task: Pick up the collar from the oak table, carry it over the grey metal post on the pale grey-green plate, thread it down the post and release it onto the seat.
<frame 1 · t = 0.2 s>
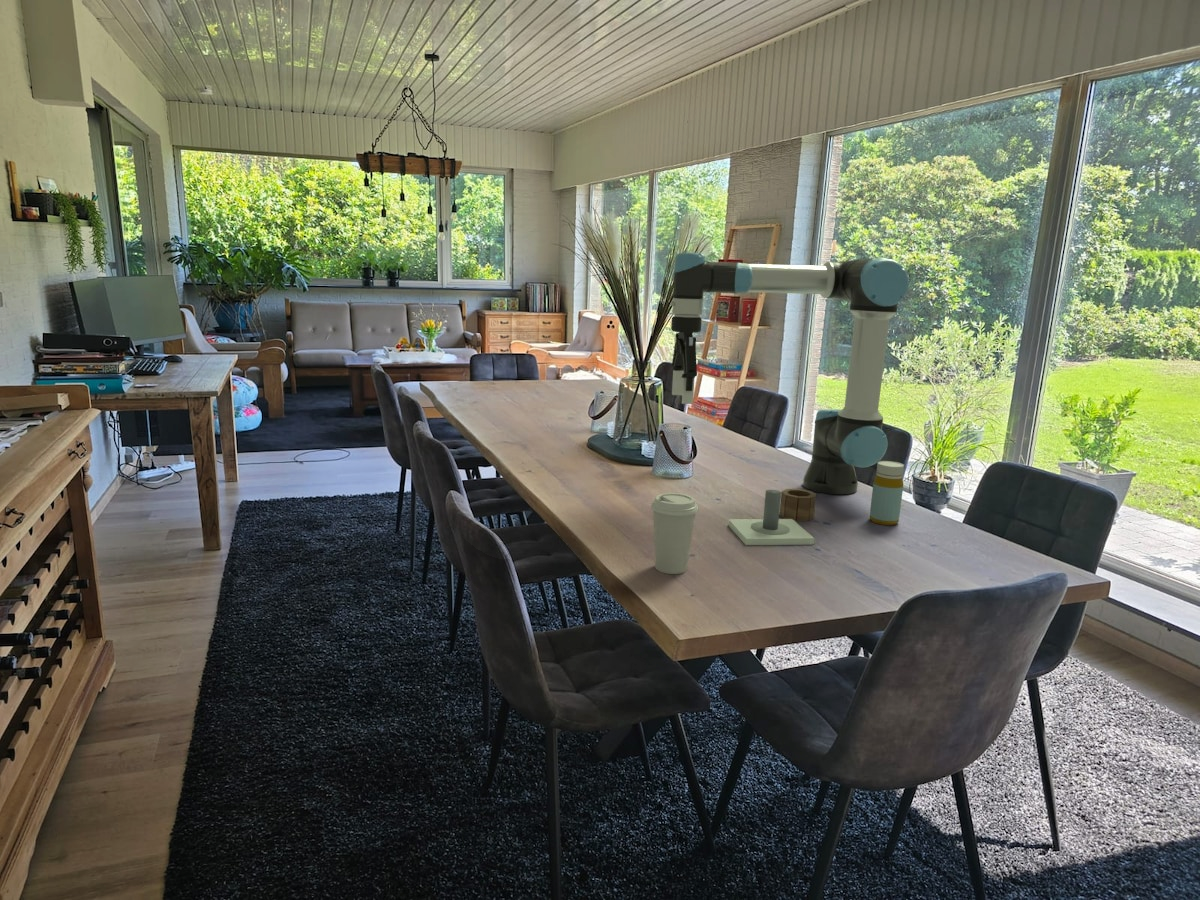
hand: (682, 399, 199), 28 cm above the table, fingers open, 13 cm apart
collar: (796, 515, 196), on the table
post stand: (769, 534, 181), on the table
coffee cup: (671, 569, 159), on the table
bottle: (883, 522, 194), on the table
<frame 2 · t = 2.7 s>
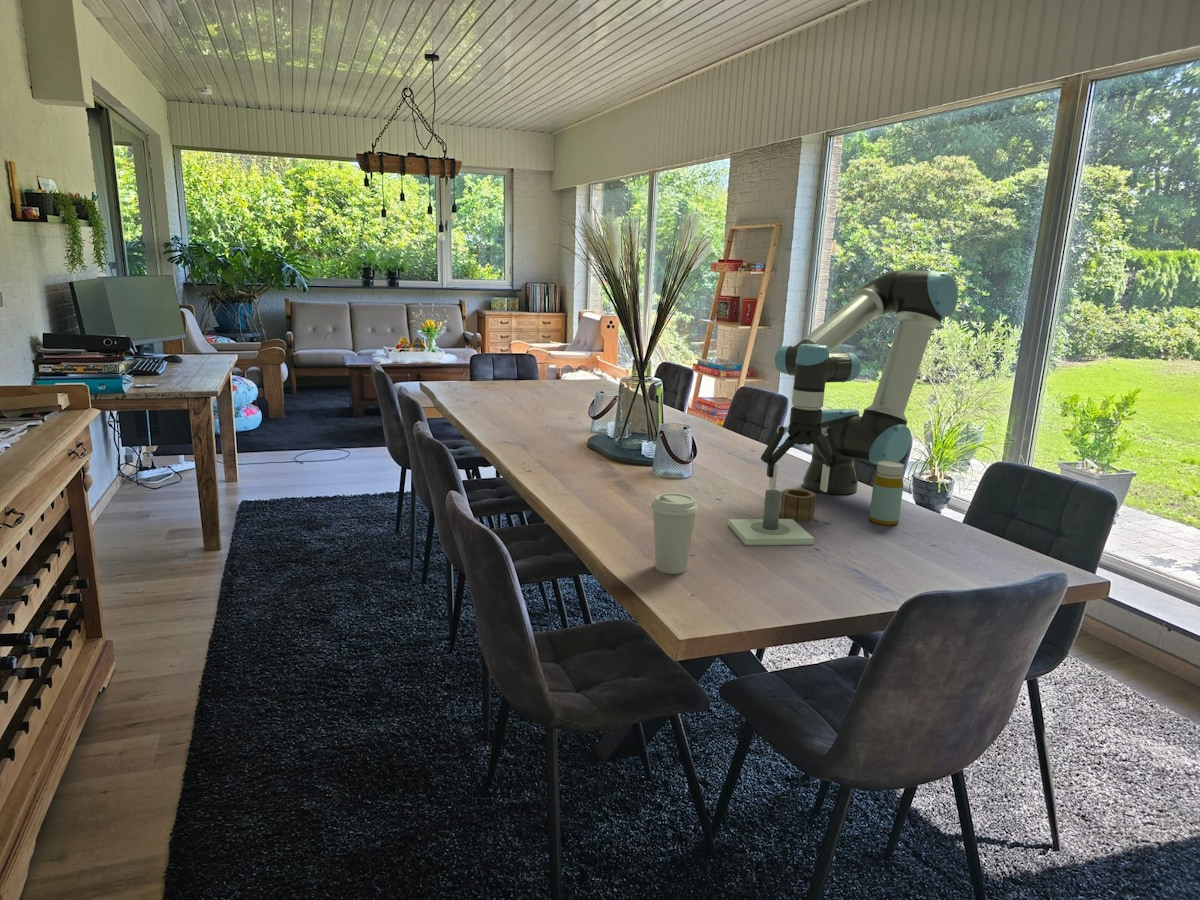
hand: (797, 490, 195), 7 cm above the table, fingers open, 13 cm apart
nothing on the table moved.
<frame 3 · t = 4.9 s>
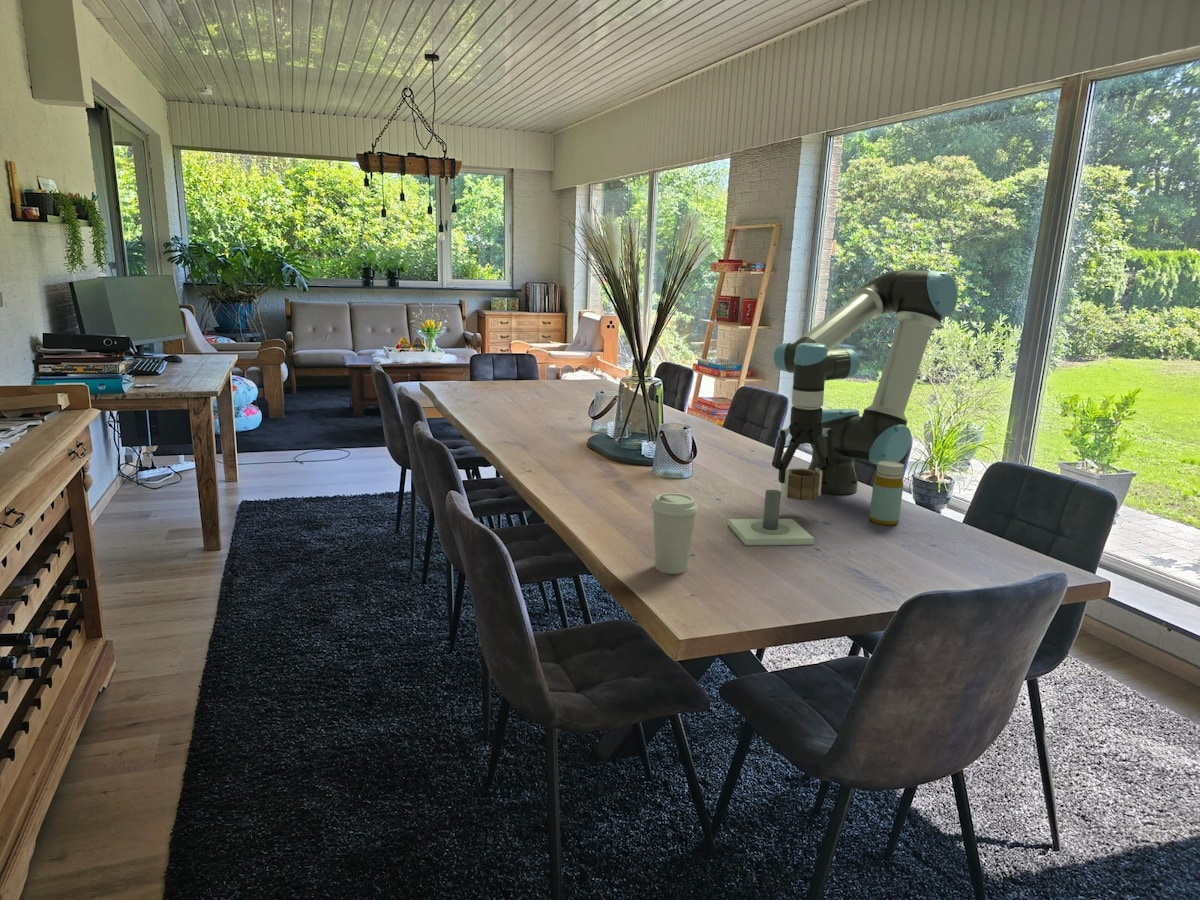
hand: (800, 494, 196), 6 cm above the table, fingers closed on collar, 8 cm apart
collar: (800, 495, 196), point 5 cm above the table, touching gripper
everything else where it was.
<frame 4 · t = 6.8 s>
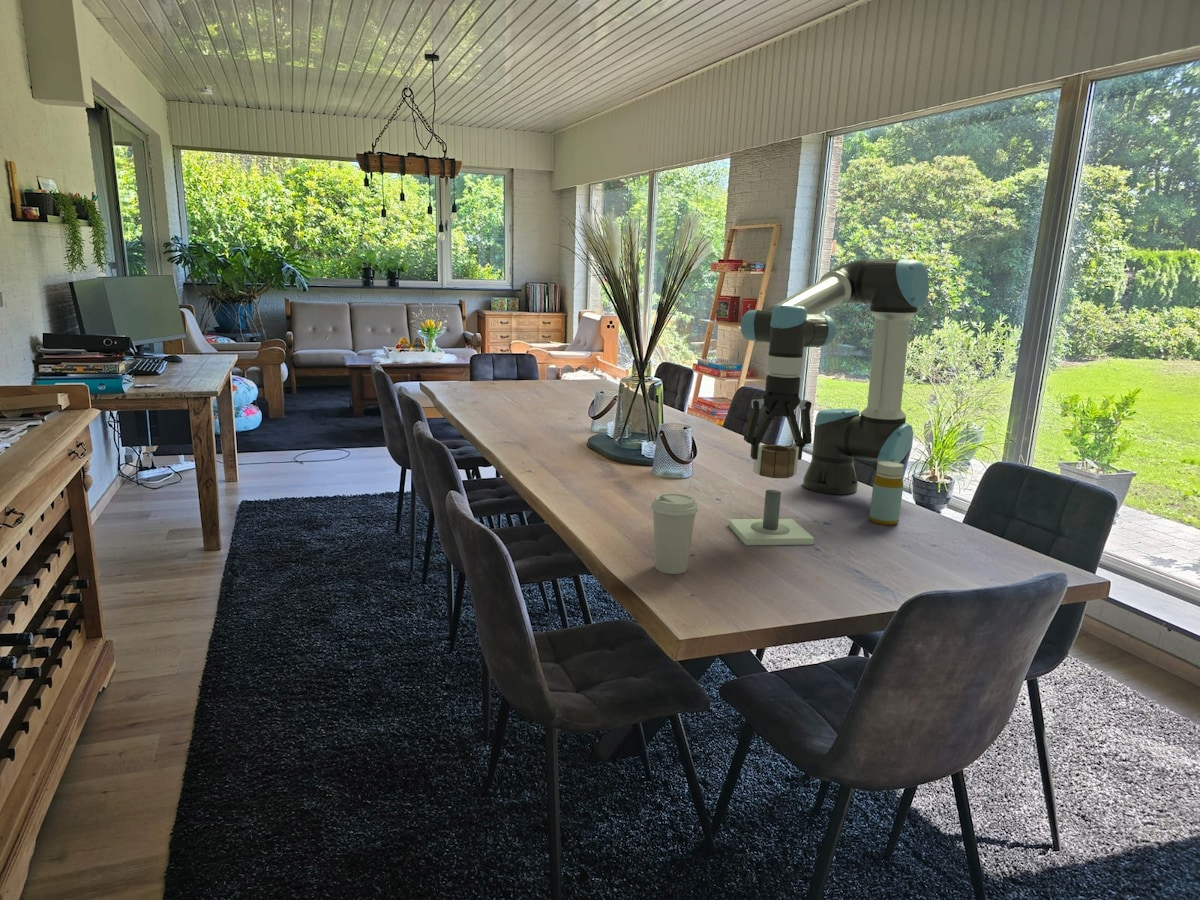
hand: (774, 472, 178), 15 cm above the table, fingers closed on collar, 8 cm apart
collar: (774, 473, 178), point 15 cm above the table, touching gripper
everything else where it was.
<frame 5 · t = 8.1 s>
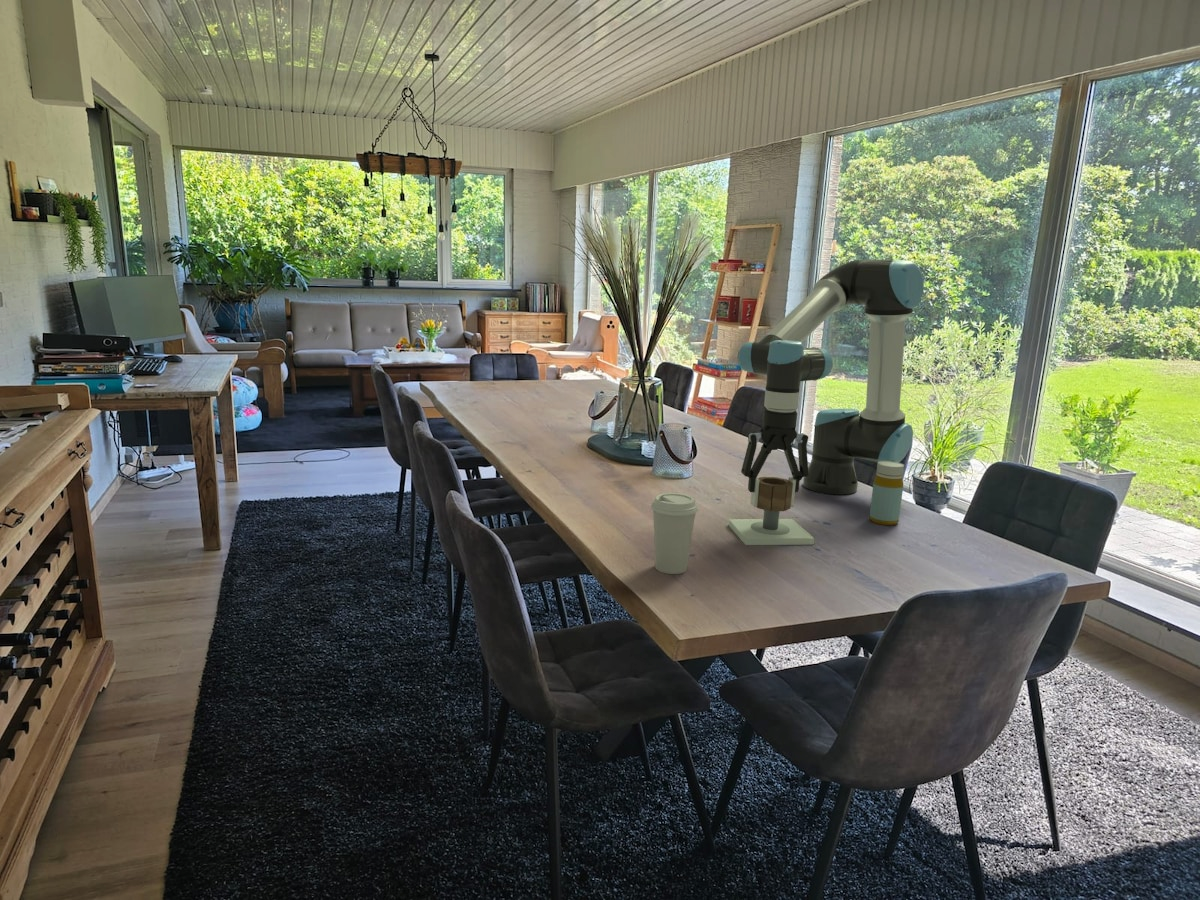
hand: (771, 505, 180), 7 cm above the table, fingers closed on collar, 8 cm apart
collar: (771, 506, 180), point 7 cm above the table, touching gripper
everything else where it was.
when the fingers open (4 cm above the table, at t = 9.1 s): collar drops 2 cm, resting on post stand.
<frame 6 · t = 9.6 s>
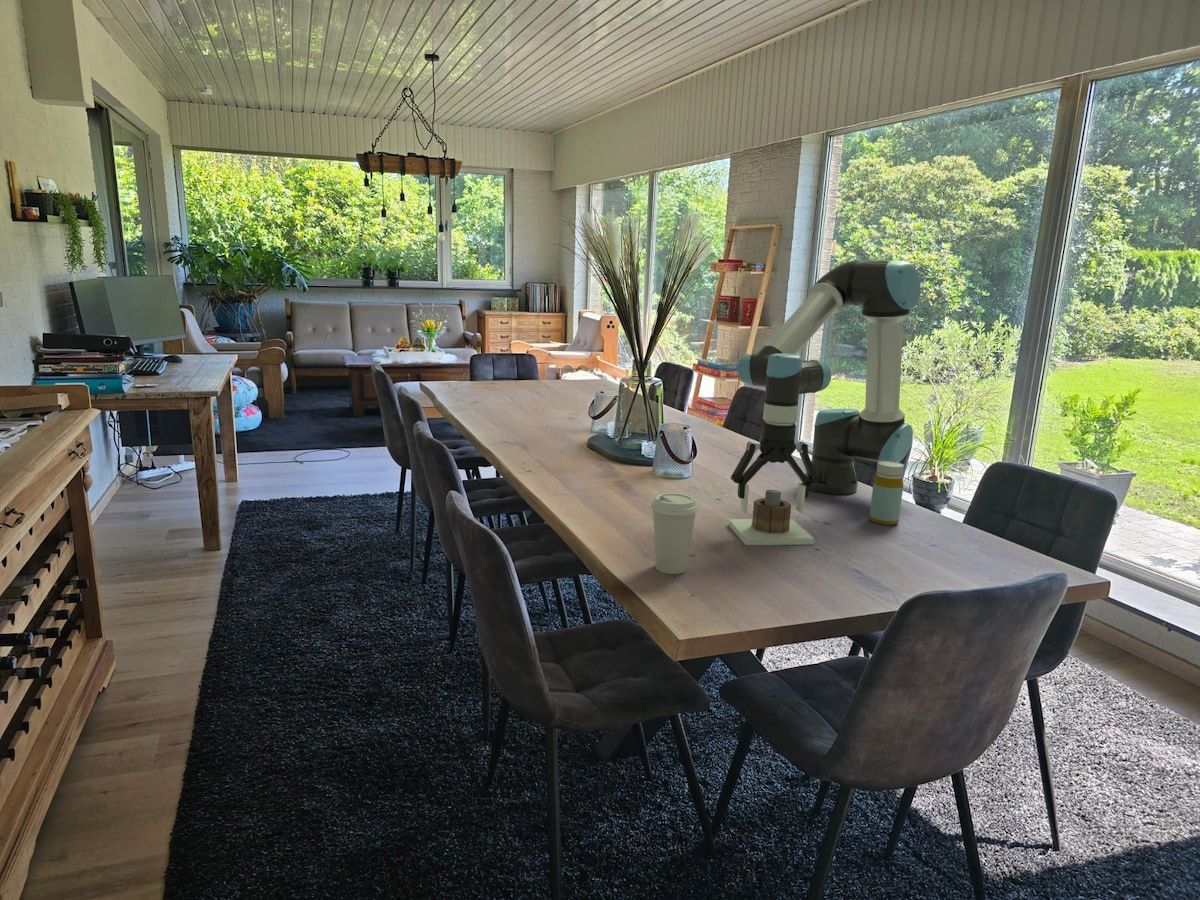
hand: (771, 511, 180), 6 cm above the table, fingers open, 13 cm apart
collar: (770, 527, 181), point 2 cm above the table, touching post stand
everything else where it was.
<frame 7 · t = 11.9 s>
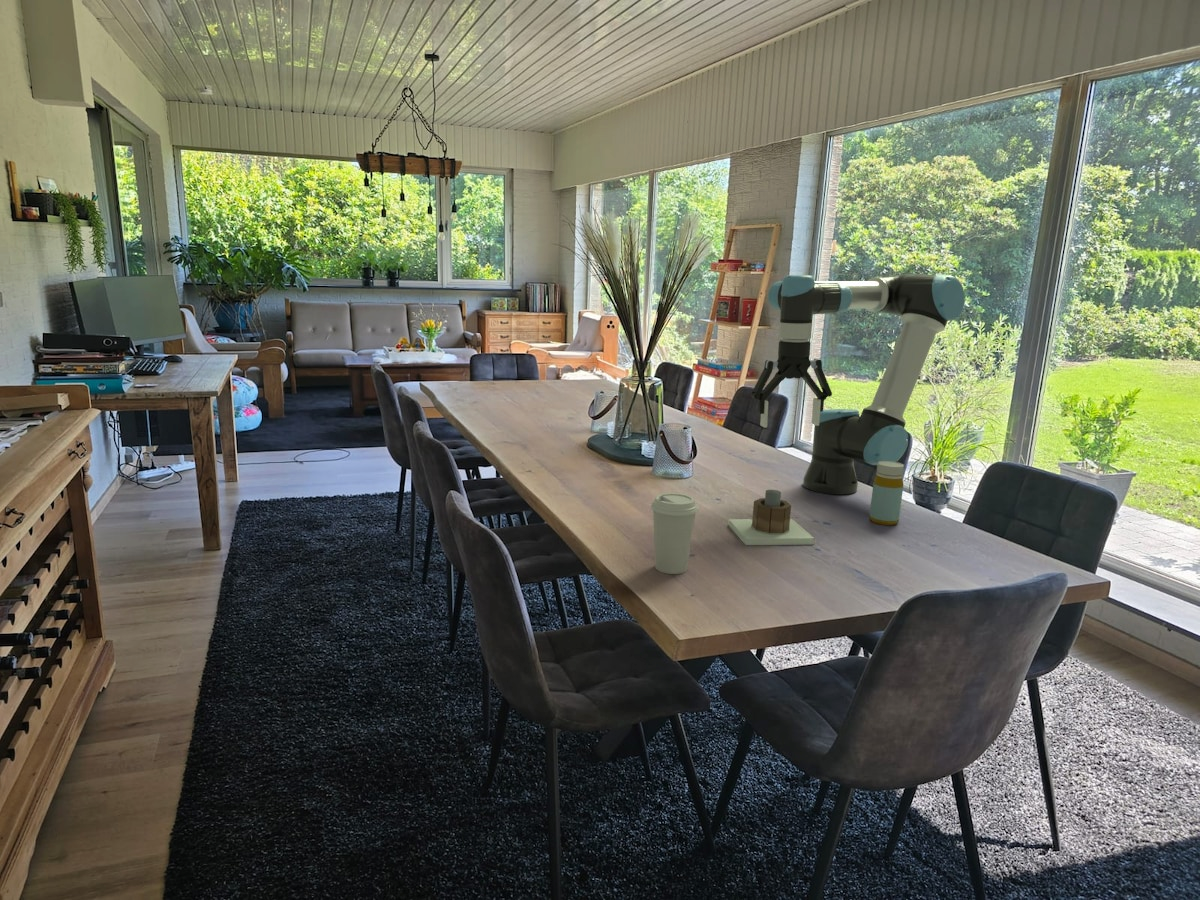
hand: (789, 425, 192), 23 cm above the table, fingers open, 13 cm apart
nothing on the table moved.
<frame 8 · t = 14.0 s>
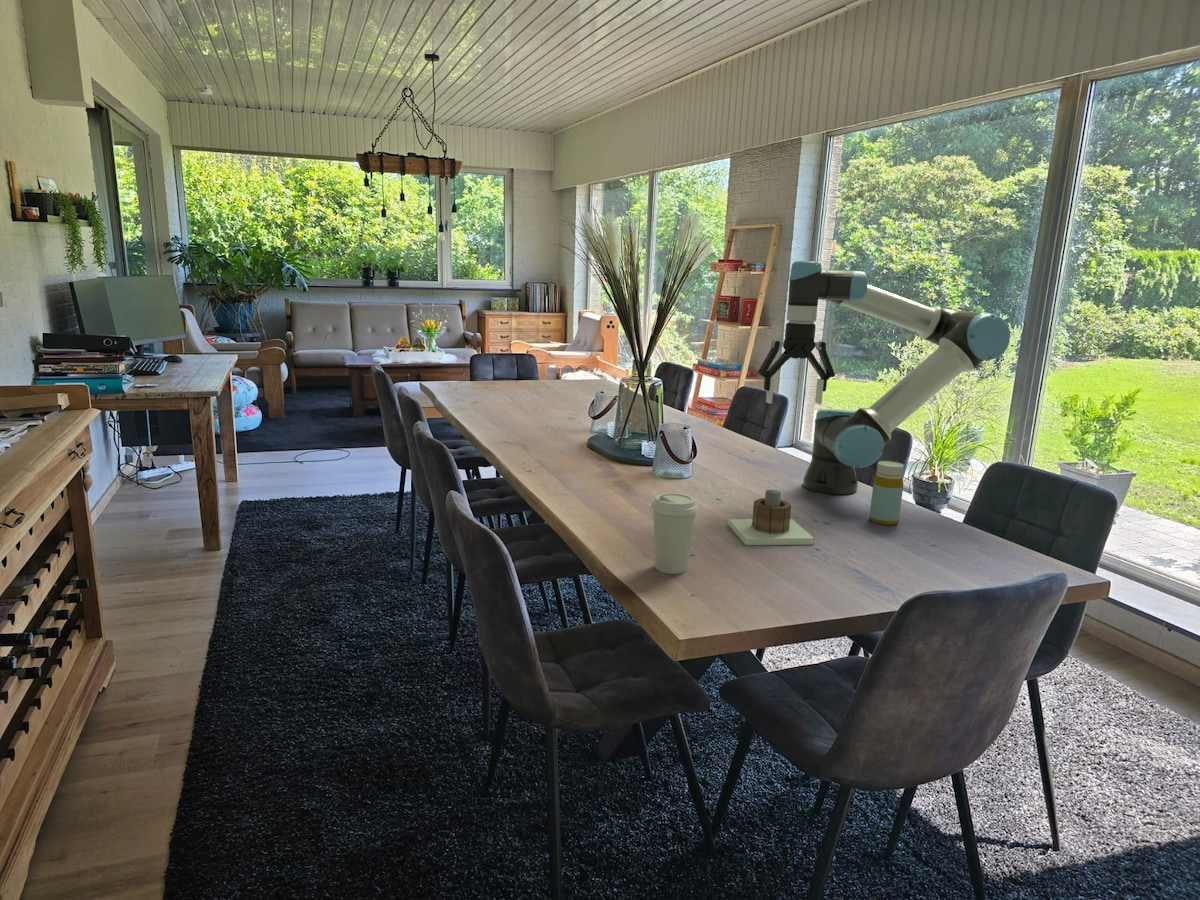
hand: (793, 403, 204), 27 cm above the table, fingers open, 13 cm apart
nothing on the table moved.
at the end: collar 0.0 cm off-centre on the post stand, point 1.7 cm above the post stand's base; the gripper is holding nothing; collar tilted 0° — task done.
